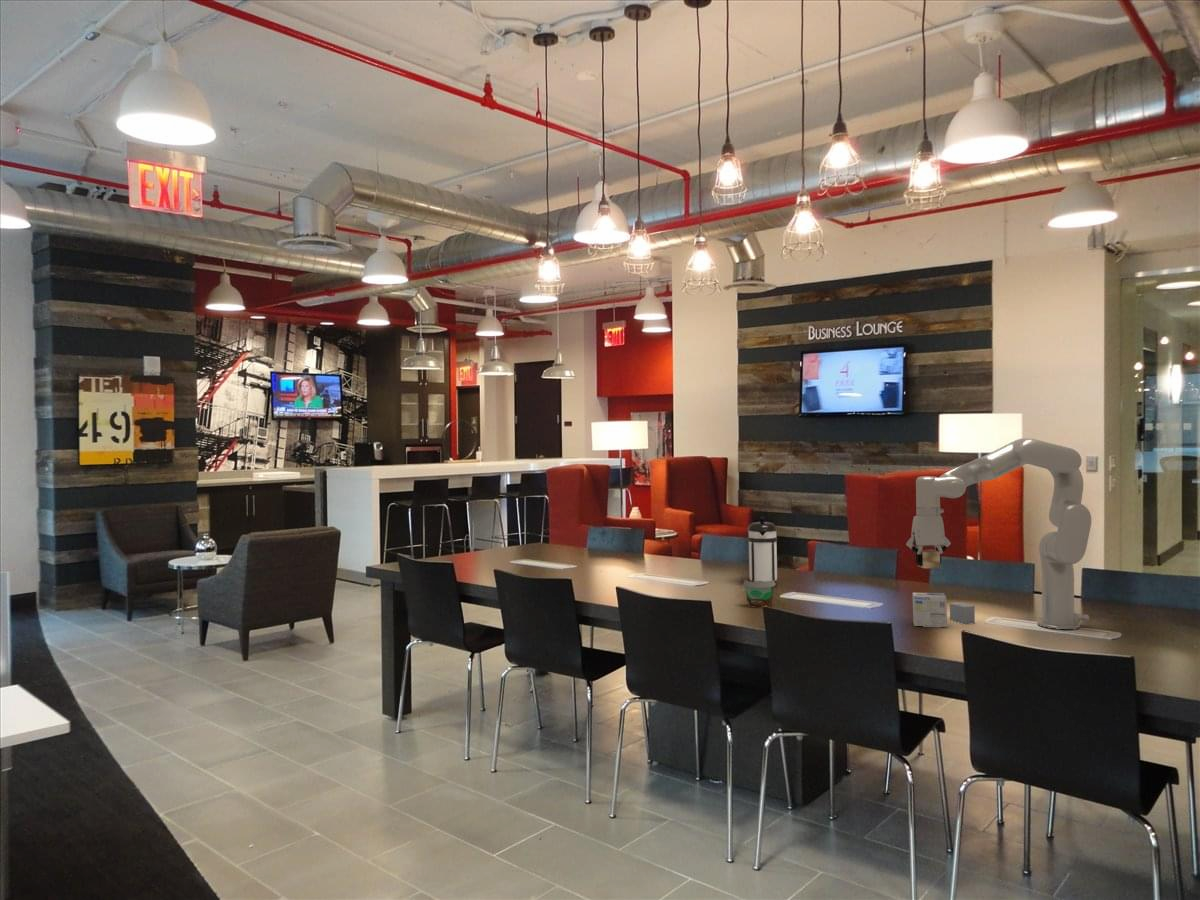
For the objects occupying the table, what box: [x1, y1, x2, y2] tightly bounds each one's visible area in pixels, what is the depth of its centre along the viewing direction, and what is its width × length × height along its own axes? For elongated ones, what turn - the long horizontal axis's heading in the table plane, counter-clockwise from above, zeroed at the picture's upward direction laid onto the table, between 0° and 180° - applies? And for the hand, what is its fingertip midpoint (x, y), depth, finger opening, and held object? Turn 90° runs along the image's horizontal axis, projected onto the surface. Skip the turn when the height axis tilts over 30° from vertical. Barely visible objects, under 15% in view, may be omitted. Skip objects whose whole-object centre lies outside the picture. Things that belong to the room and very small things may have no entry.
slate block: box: [949, 601, 976, 625], centre depth 291 cm, size 4×7×6 cm, turn 16°
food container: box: [743, 579, 776, 608], centre depth 323 cm, size 12×6×10 cm, turn 76°
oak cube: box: [917, 549, 941, 569], centre depth 286 cm, size 6×6×6 cm
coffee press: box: [747, 516, 778, 586], centre depth 370 cm, size 17×16×30 cm
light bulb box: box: [912, 592, 948, 628], centre depth 286 cm, size 11×7×11 cm, turn 74°
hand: (928, 564), depth 286 cm, fingers closed on oak cube, 5 cm apart
